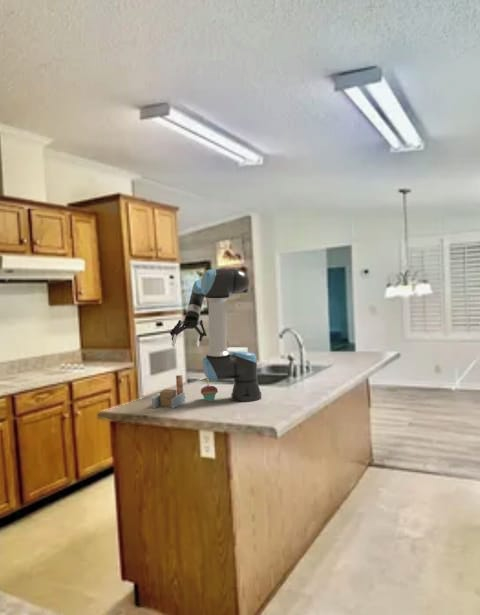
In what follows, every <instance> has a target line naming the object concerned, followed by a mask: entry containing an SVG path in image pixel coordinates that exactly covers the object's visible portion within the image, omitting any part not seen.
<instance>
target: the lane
mask: <svg viewBox="0 0 480 615" xmlns="http://www.w3.org/2000/svg"><path fill="white" fill-rule="evenodd" d="M185 401H186V394H185V392H183V393H181V394H179V395H177V396H176V397H174V398H172V399H171V407H170V408H171V410H174V409H176V408H177V407H179V406H181V405H183V402H184V403H185ZM151 403H152V405H151V406H152V409H156V408H158V407H161V401H160V394H159V395H156V396H155V397H153V398H152V399H151ZM180 404H181V405H180ZM178 405H179V406H178ZM175 407H176V408H175Z"/></svg>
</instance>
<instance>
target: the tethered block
mask: <svg viewBox="0 0 480 615" xmlns="http://www.w3.org/2000/svg"><path fill="white" fill-rule="evenodd" d="M175 379H176V380H175V383H176V389H175V388H174V389H171V388H170V389H168V388H165V389H163V390H161V391H159V393H160V394H159V395H160V401H161V405H160V407H167V406H171V399H172V398H174V397H176V396H177V395H179V394H181V393H184V386H183V385H184V384H183V382H184V381H183V374H179V375H178V374H177V375H176V376H175Z"/></svg>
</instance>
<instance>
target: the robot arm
mask: <svg viewBox="0 0 480 615" xmlns="http://www.w3.org/2000/svg"><path fill="white" fill-rule="evenodd" d="M201 276H202V277H201V279H197V280H195V281H194V283H193V285H192V290H191V294H190V297H189V301H188V305H187V309H186V313H185V317H184V320H181V319H179V320H178V321H177V323H176V325H174V327H173V328H172V329H171V330H170V332H169V334H170V336H171V345H172V347H173V348H175V347H176V342H177V339H178V335H179V334H181V333H182V332H183V331H185V330H187V329H188V330H192V329H194V330H195V331H196V332H197V340H196V344H195V345H196V347H197V348H199V347H200V343H201V342H202V341H203V338H204V337H207V335H208V341H209V342H208V343H209V344H208V346H209V348H208V350H207V352H206V354H205V355H206V356H205V357H203V358H202V368H203V371H204V376H205V378H206V380H207V379H208V381H211V382H213V381H216V382H218V381H222V380H226V379H234V381H233V386H232V392H231V393H230V394H231V395H230V397H231V400H232V401H236V402H253V401H254V402H255V401H257V400H260V399H262V397H263V396H262V392H261V390H260V386H259V383H258V367H257V366H258V365H257V364H258V361H257V356H256V354H255V353H253V352H249V351H248V352H238V351H236V352H233V355H230V352H229V351H228V350H227V348H228V340H227V338H228V336H227V335H228V333H227V332H228V331H227V329H228V328H227V327H228V326H227V324H228V323H227V322H228V321H227V301H228V300H229V298H230V296H231V295H232V294H236V293H237V294H238V293H241V292H244V291H245V290H247V289H248V287H249V286H250V277H249V275H248V274H247V273H246V272H245V271H243V270H241V269H238V268H221V269H219V268H217V269H216V268H212V269H207V270H204V272H203V274H202V275H201ZM204 299H206V301H208V305H207V306H208V334H207V332H206V330H205V327H204V322H203V319H201V320H199V319H200V315H201V310H202V307H203V303H204ZM198 325H199V326H200V327H201V330H202V331H201V330H200V329H199V327H198Z"/></svg>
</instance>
